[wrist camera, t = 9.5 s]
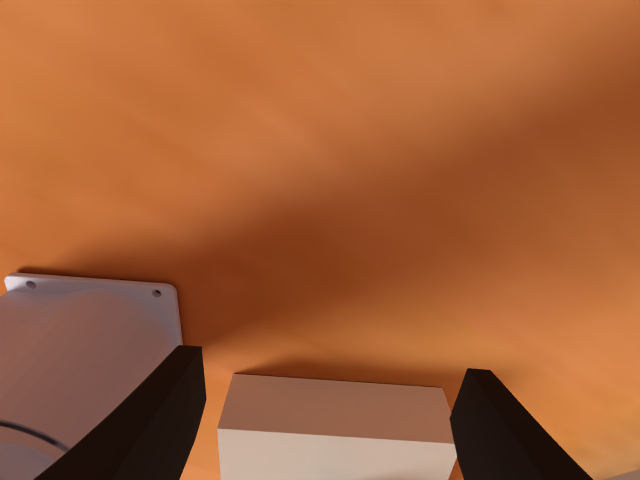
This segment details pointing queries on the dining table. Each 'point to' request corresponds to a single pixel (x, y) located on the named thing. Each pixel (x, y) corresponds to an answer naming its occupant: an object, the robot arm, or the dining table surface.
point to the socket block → (333, 431)
